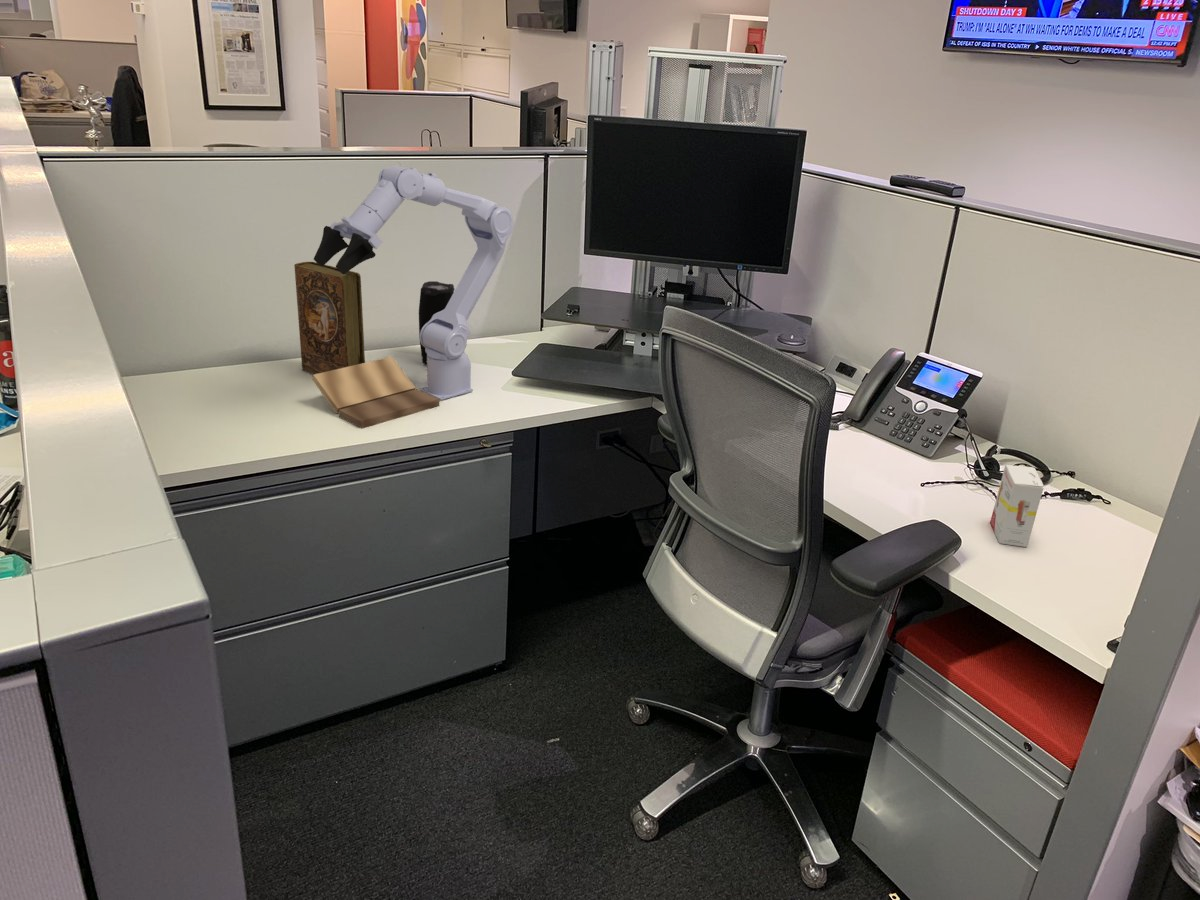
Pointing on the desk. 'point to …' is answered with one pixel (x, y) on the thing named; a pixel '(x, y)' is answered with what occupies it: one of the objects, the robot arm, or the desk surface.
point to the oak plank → (362, 383)
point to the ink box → (1016, 505)
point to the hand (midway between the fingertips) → (328, 266)
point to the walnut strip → (388, 408)
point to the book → (329, 317)
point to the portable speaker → (432, 304)
